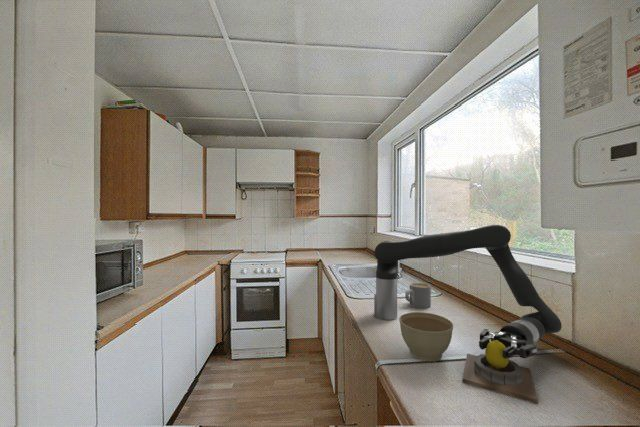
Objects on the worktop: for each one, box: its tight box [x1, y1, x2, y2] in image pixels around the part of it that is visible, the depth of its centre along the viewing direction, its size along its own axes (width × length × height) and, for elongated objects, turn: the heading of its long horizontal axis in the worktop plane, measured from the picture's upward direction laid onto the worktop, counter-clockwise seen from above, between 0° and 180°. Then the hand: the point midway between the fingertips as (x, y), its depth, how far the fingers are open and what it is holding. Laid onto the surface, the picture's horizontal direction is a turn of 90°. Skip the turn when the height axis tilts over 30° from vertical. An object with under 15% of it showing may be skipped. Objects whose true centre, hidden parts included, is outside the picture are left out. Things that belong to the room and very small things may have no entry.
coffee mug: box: [404, 282, 432, 309], centre depth 139 cm, size 13×10×10 cm
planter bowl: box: [399, 311, 454, 363], centre depth 89 cm, size 16×16×11 cm
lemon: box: [484, 340, 510, 369], centre depth 77 cm, size 6×6×8 cm
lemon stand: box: [462, 353, 539, 404], centre depth 77 cm, size 16×16×4 cm
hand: (492, 349), depth 76 cm, fingers closed on lemon, 5 cm apart
